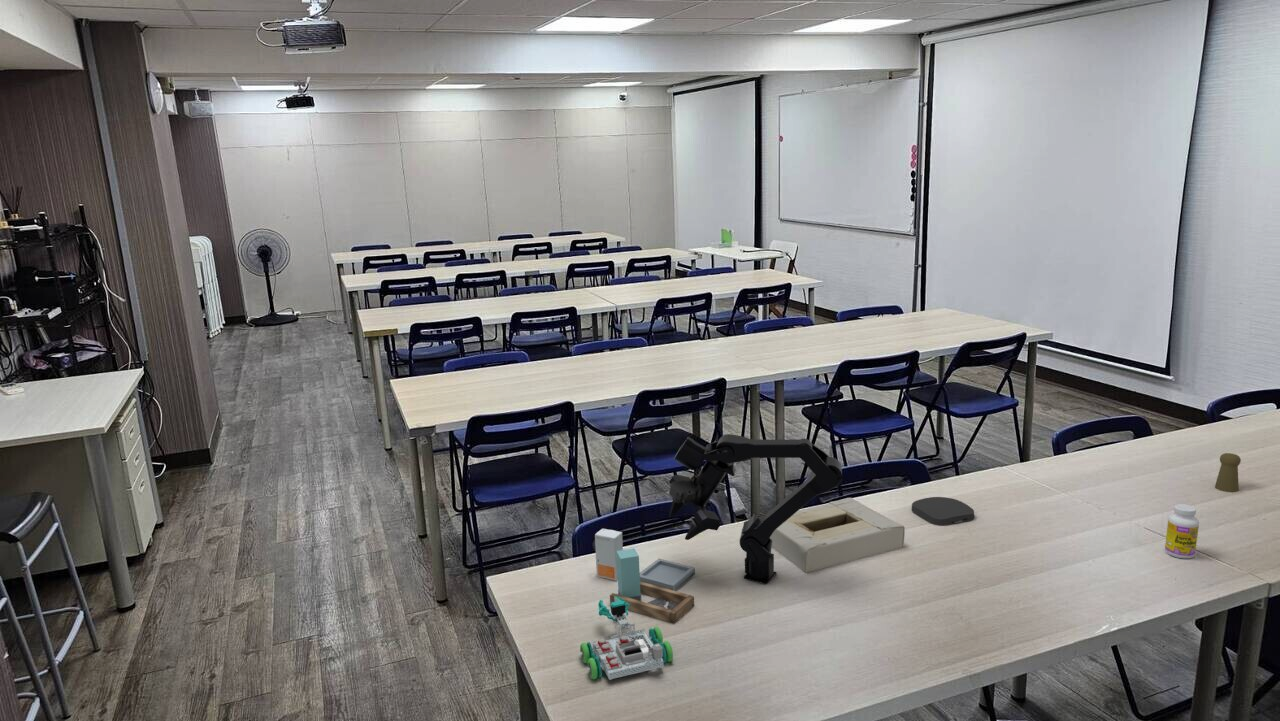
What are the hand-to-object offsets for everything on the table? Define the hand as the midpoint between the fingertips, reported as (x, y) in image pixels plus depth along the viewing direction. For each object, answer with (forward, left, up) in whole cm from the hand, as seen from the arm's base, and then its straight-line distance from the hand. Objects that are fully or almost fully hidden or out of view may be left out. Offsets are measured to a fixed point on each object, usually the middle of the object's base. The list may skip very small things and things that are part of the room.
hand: (678, 527), depth 215 cm
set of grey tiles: (-7, +18, -12) cm, 23 cm away
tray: (+1, +5, -12) cm, 13 cm away
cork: (-119, -128, -13) cm, 175 cm away
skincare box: (+15, +10, -13) cm, 22 cm away
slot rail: (-3, +18, -12) cm, 22 cm away
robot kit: (-7, +37, -13) cm, 40 cm away
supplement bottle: (-108, -71, -13) cm, 130 cm away
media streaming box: (-49, -69, -13) cm, 85 cm away
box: (-28, -34, -13) cm, 46 cm away
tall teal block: (+4, +18, -12) cm, 22 cm away
